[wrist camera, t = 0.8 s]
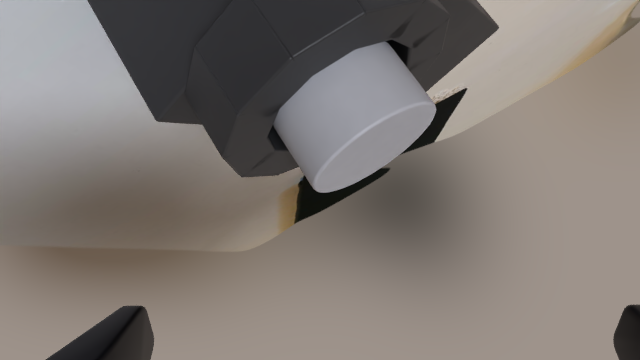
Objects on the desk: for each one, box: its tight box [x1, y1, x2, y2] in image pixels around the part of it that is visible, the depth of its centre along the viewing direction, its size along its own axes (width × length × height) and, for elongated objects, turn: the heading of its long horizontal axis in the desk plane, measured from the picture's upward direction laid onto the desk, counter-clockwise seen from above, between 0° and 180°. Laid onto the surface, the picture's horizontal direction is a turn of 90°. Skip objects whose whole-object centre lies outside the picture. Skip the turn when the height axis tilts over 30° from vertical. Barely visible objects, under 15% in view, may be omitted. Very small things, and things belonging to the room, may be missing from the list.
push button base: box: [88, 0, 499, 177], centre depth 18 cm, size 14×7×7 cm, turn 37°
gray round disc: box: [273, 42, 436, 193], centre depth 14 cm, size 4×4×2 cm
